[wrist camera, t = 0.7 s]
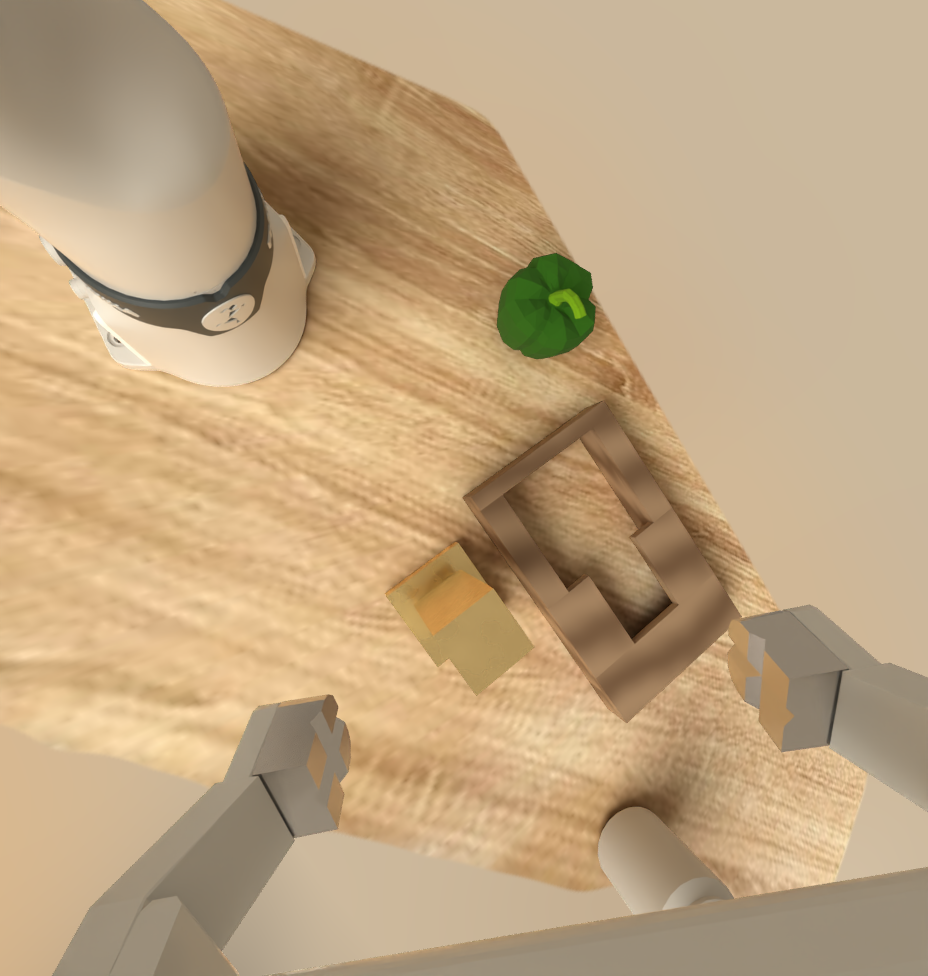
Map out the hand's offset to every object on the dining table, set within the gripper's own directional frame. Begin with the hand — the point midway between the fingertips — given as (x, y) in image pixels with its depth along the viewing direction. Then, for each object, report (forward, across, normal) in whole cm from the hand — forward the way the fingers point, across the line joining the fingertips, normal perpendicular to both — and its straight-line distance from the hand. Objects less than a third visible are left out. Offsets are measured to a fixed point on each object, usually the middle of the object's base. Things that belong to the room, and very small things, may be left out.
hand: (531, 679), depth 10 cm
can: (+22, -7, +47) cm, 53 cm away
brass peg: (+30, +6, +20) cm, 36 cm away
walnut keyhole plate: (+34, -10, +21) cm, 41 cm away
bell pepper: (+43, -7, -1) cm, 44 cm away
